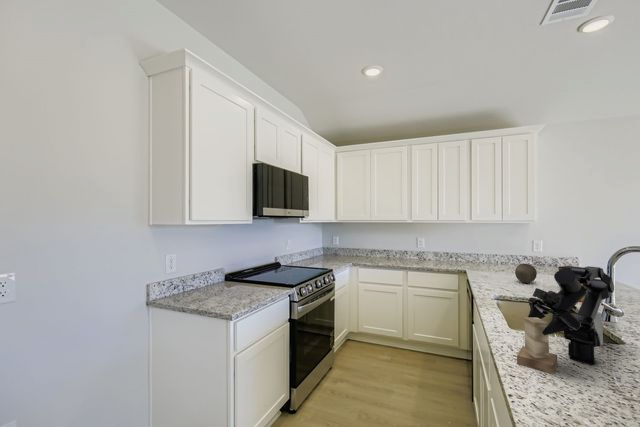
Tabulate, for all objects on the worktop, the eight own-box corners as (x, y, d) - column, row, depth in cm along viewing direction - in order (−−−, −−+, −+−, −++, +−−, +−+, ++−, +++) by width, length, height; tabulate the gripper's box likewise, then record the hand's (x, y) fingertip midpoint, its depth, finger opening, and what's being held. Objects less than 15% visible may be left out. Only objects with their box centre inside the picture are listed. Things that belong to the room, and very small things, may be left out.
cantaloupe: (511, 281, 234) (511, 262, 234) (530, 281, 232) (530, 262, 232) (521, 285, 220) (520, 265, 220) (541, 285, 218) (541, 265, 218)
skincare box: (603, 342, 118) (602, 312, 119) (603, 346, 115) (602, 315, 115) (582, 338, 123) (581, 309, 123) (582, 341, 119) (581, 311, 120)
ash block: (538, 351, 104) (537, 317, 105) (549, 358, 99) (548, 322, 99) (525, 351, 105) (524, 317, 105) (535, 358, 99) (534, 322, 100)
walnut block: (557, 364, 102) (557, 354, 102) (553, 376, 95) (553, 365, 95) (523, 355, 109) (522, 346, 109) (517, 365, 102) (516, 355, 102)
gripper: (532, 275, 111) (502, 304, 112) (569, 287, 93) (533, 321, 93) (555, 297, 110) (525, 325, 111) (597, 312, 92) (560, 347, 93)
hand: (534, 329), depth 102 cm, fingers open, 9 cm apart
